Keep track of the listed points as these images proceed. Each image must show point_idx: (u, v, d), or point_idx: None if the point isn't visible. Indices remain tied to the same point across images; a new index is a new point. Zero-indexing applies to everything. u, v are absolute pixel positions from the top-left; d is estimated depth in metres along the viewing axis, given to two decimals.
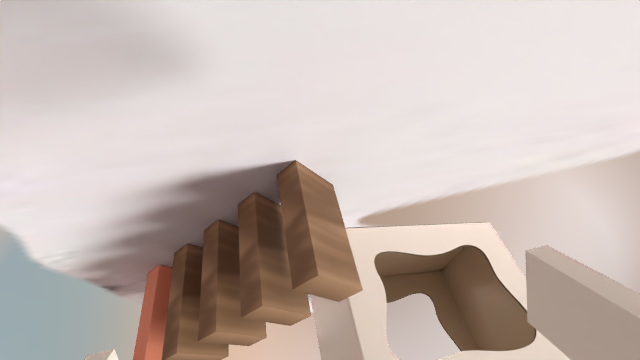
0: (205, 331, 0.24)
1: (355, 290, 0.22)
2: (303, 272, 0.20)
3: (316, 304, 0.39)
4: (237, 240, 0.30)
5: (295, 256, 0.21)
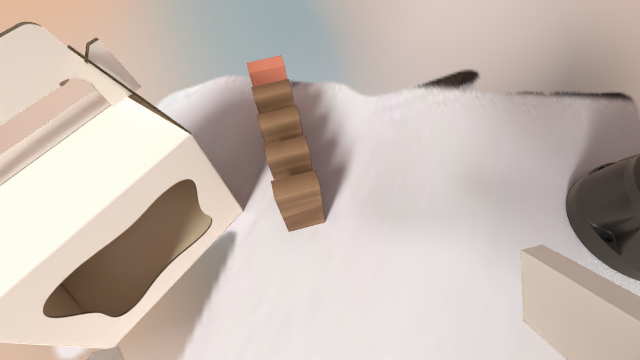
0: (298, 113, 0.40)
1: (278, 194, 0.34)
2: None
3: None
4: None
5: None
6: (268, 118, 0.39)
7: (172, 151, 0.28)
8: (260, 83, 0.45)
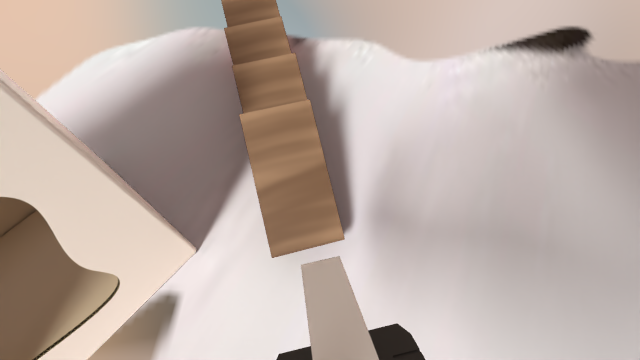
0: None
1: (247, 114, 0.22)
2: None
3: None
4: None
5: None
6: None
7: None
8: None
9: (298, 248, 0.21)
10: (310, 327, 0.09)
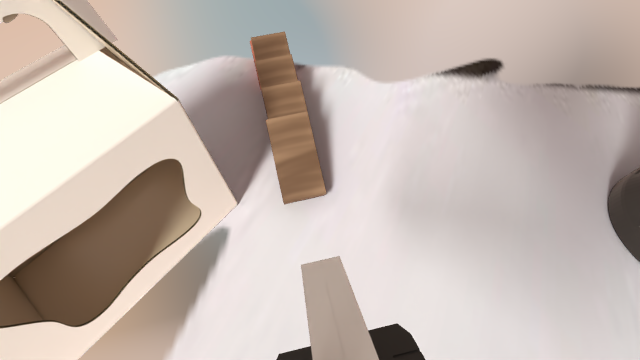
0: None
1: (270, 119, 0.37)
2: None
3: None
4: None
5: None
6: None
7: (153, 120, 0.23)
8: None
9: (299, 198, 0.36)
10: (310, 327, 0.09)
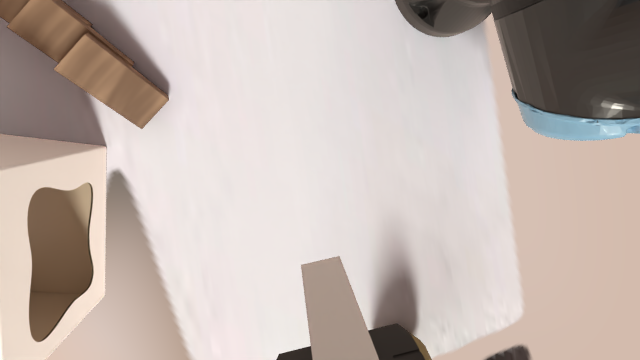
0: None
1: (57, 65, 0.33)
2: (93, 38, 0.34)
3: None
4: None
5: (106, 47, 0.35)
6: None
7: None
8: None
9: (150, 117, 0.39)
10: (310, 327, 0.09)
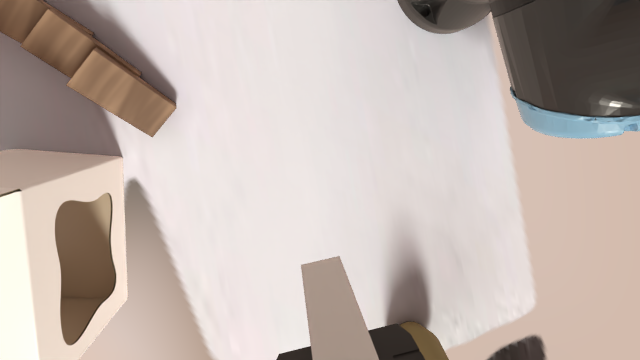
0: None
1: None
2: (101, 53, 0.36)
3: (8, 154, 0.37)
4: None
5: (114, 61, 0.37)
6: None
7: (25, 216, 0.27)
8: None
9: (159, 125, 0.40)
10: (310, 327, 0.09)
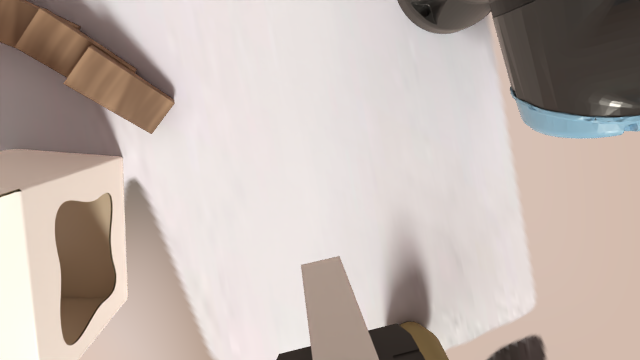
0: None
1: (66, 79, 0.35)
2: (97, 50, 0.35)
3: (8, 154, 0.37)
4: None
5: (110, 58, 0.37)
6: None
7: (25, 216, 0.27)
8: None
9: (158, 122, 0.40)
10: (310, 327, 0.09)
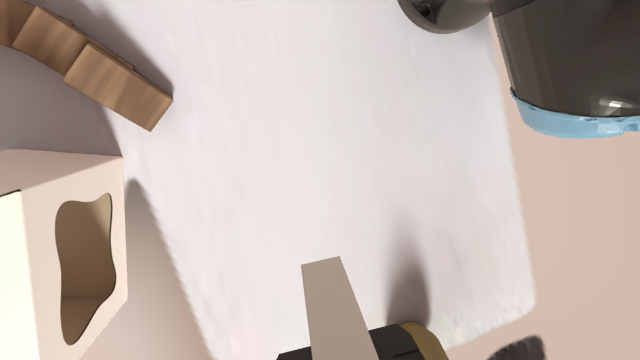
0: None
1: None
2: (95, 47, 0.35)
3: (8, 154, 0.37)
4: None
5: (108, 55, 0.37)
6: None
7: (25, 216, 0.27)
8: None
9: (157, 120, 0.40)
10: (310, 327, 0.09)
